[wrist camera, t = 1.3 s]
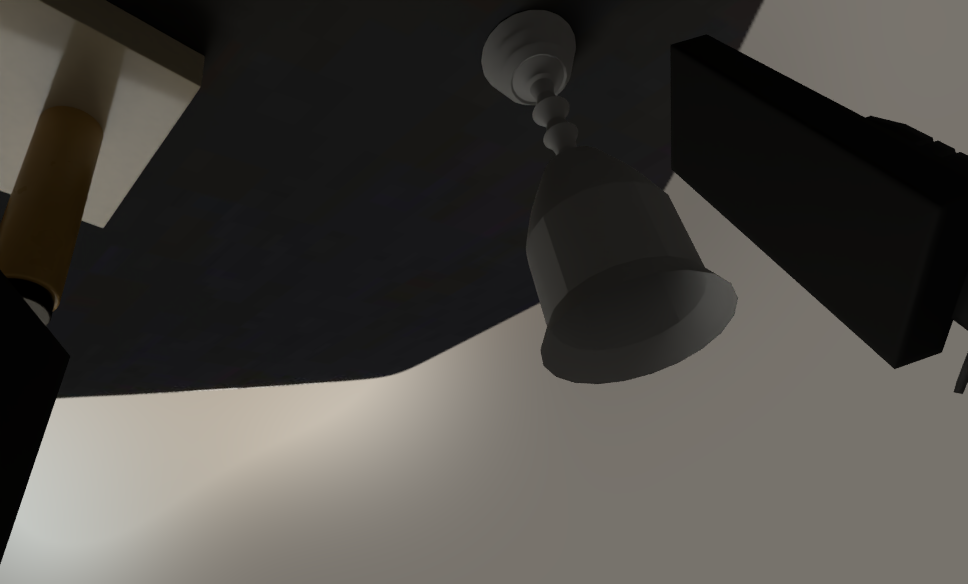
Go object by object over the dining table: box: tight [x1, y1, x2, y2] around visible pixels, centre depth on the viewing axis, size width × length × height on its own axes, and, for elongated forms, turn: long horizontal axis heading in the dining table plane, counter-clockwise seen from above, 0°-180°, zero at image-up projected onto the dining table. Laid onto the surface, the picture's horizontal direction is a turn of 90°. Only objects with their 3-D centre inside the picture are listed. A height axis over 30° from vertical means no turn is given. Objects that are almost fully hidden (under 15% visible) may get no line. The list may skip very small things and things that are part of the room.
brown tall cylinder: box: [0, 106, 103, 326], centre depth 28 cm, size 3×3×12 cm
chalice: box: [481, 10, 738, 384], centre depth 30 cm, size 7×7×18 cm
